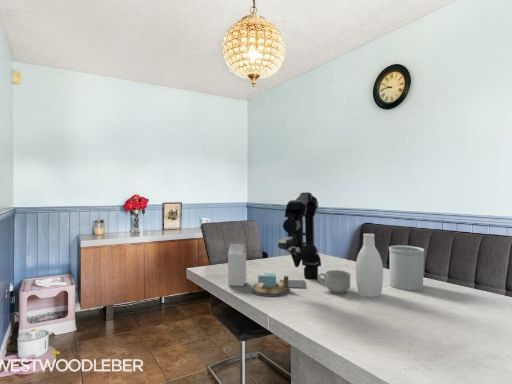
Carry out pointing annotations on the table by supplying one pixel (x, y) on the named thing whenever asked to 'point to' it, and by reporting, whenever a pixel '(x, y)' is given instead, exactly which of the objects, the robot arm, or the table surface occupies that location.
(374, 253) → the bottle
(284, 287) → the turntable
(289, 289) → the turntable base
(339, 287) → the teacup
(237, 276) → the milk carton
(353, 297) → the table surface
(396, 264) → the utensil holder
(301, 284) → the mat
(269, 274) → the blue cube with post
